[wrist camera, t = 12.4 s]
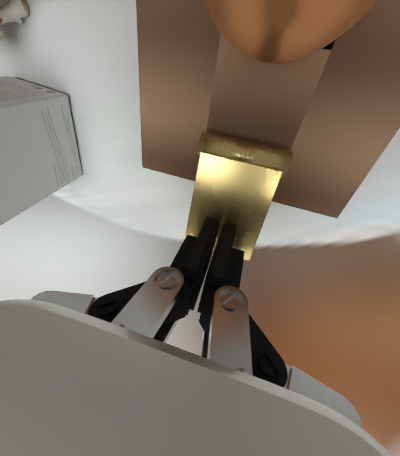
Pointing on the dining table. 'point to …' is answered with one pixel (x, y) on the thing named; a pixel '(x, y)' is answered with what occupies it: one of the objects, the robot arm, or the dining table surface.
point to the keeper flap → (235, 186)
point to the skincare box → (34, 145)
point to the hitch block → (270, 99)
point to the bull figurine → (13, 13)
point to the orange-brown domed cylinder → (284, 25)
